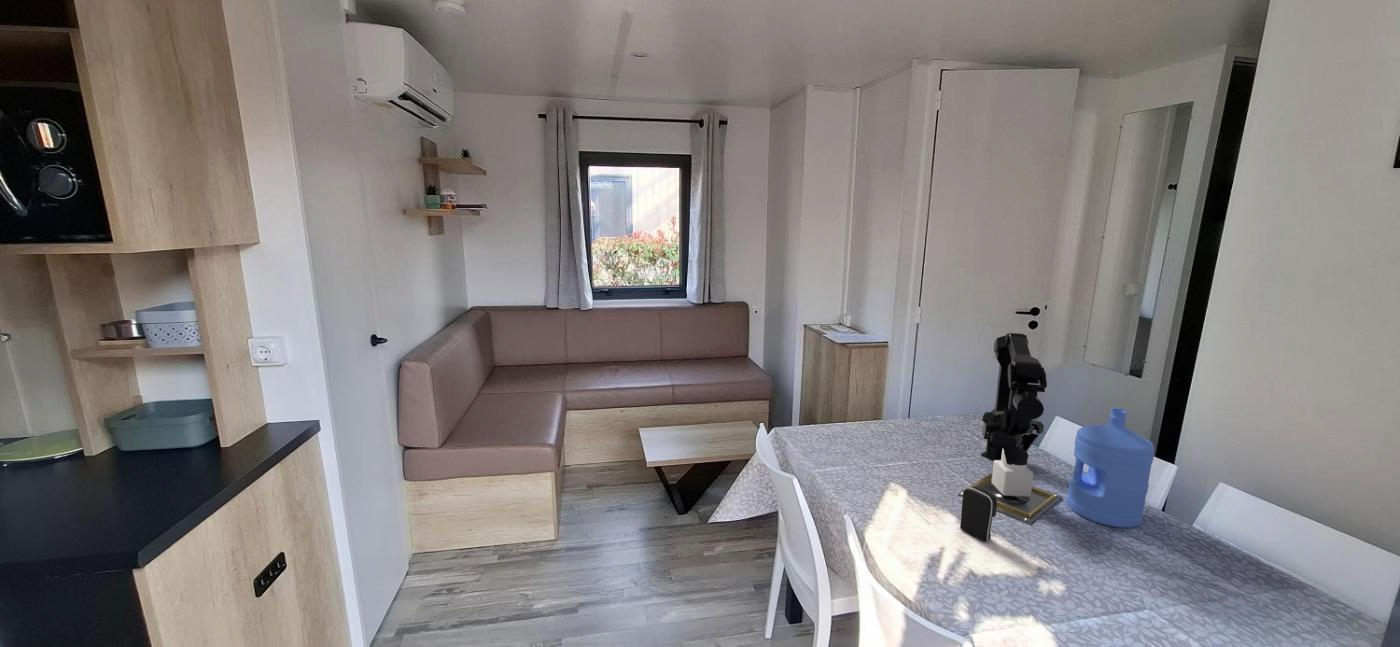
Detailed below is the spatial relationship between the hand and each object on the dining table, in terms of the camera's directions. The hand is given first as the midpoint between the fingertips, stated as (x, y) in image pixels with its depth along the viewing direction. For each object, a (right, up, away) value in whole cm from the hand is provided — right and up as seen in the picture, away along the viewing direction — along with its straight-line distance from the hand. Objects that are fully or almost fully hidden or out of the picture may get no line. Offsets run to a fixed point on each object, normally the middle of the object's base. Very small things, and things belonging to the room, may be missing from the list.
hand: (1014, 461), depth 138 cm
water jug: (+20, -12, -6) cm, 24 cm away
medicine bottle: (0, -9, +2) cm, 9 cm away
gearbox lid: (0, -10, +2) cm, 10 cm away
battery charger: (-19, -13, -16) cm, 28 cm away
